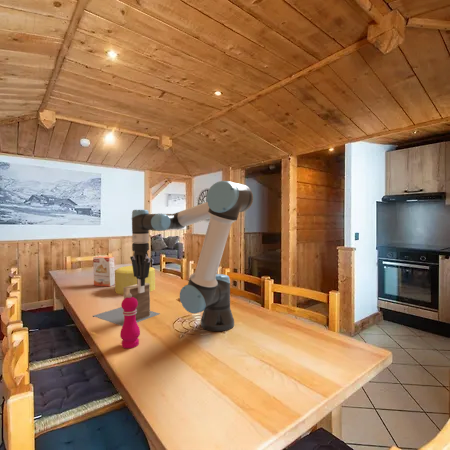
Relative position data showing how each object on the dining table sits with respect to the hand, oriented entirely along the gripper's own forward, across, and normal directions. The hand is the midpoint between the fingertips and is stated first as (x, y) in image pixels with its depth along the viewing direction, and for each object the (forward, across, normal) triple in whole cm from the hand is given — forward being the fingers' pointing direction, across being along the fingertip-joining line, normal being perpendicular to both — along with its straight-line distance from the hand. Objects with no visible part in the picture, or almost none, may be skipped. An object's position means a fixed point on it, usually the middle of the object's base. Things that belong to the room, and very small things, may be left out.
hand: (141, 292), depth 136 cm
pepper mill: (+14, +17, -19) cm, 29 cm away
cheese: (+15, -52, +36) cm, 65 cm away
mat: (+14, -12, +1) cm, 18 cm away
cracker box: (+15, -81, +31) cm, 88 cm away
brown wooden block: (+13, -3, 0) cm, 14 cm away
